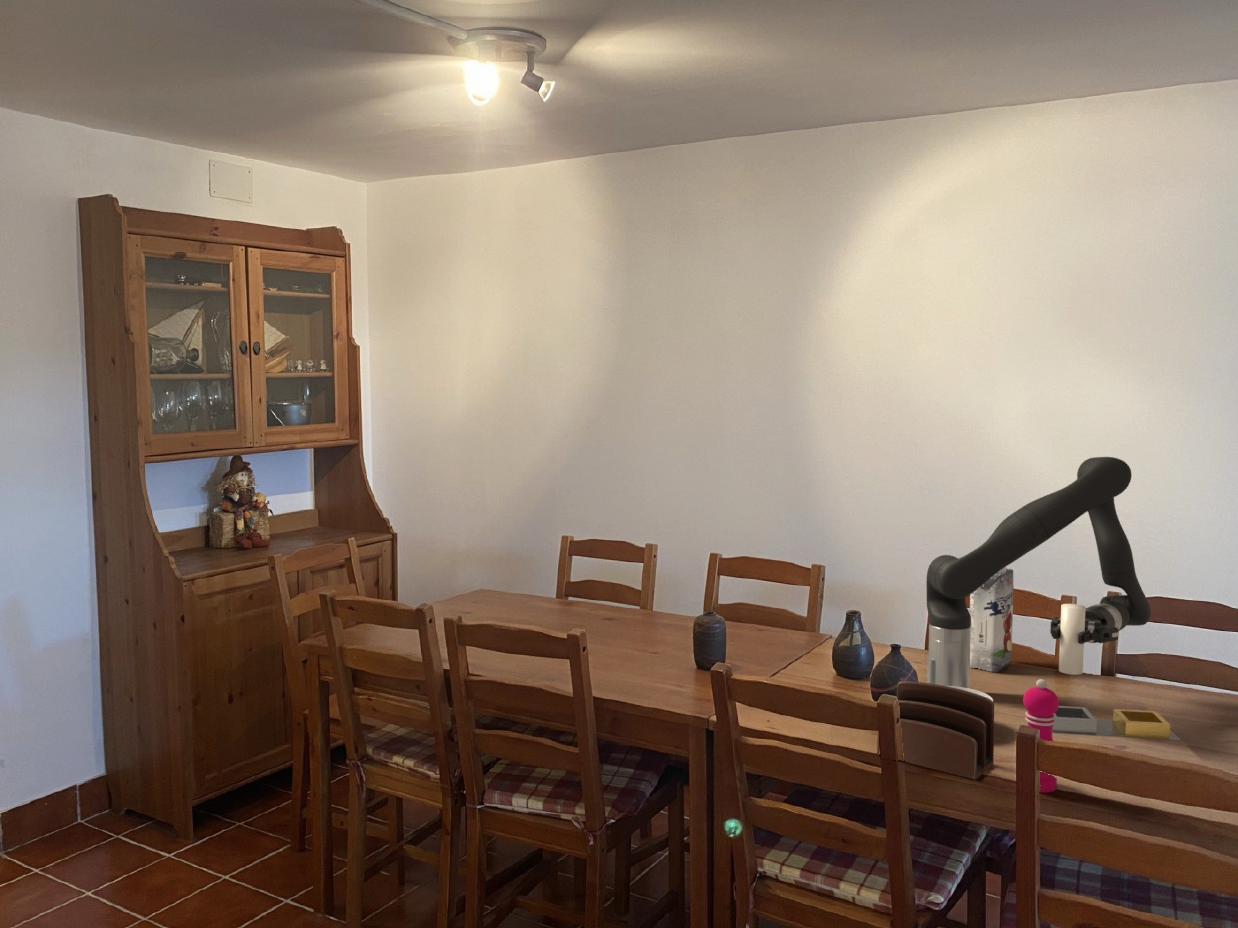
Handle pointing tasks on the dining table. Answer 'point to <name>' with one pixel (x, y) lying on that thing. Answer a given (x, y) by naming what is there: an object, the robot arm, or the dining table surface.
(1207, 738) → the dining table surface
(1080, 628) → the cream peg
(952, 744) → the letter holder
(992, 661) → the juice carton
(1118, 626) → the robot arm
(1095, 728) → the peg insertion base
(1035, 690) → the pepper mill
